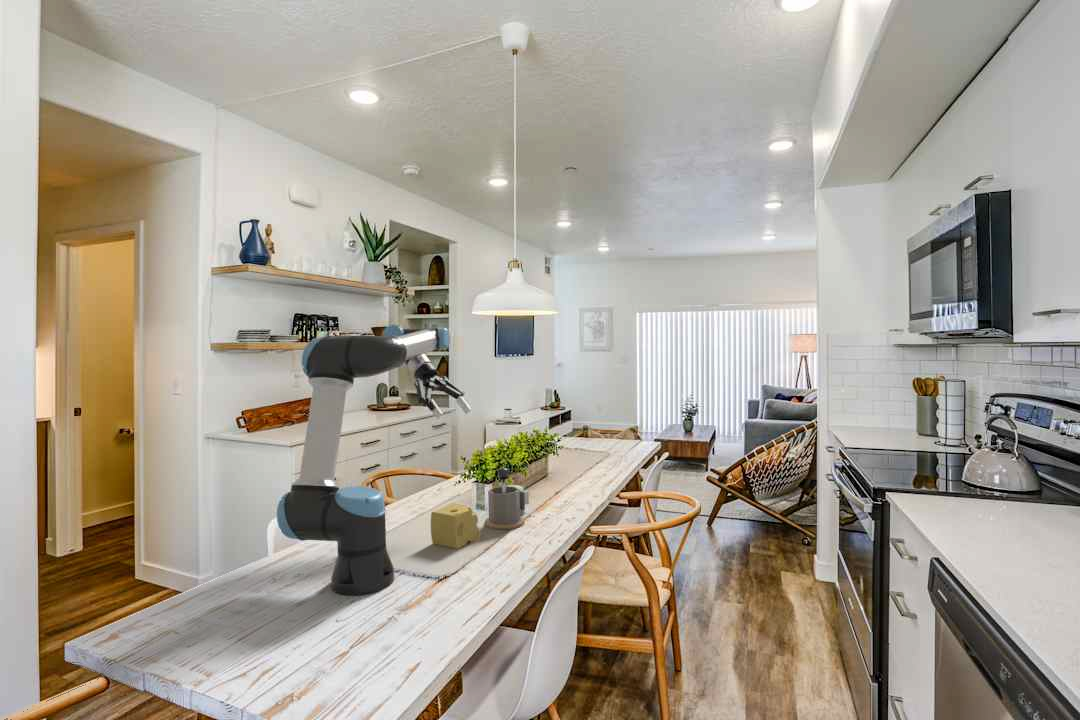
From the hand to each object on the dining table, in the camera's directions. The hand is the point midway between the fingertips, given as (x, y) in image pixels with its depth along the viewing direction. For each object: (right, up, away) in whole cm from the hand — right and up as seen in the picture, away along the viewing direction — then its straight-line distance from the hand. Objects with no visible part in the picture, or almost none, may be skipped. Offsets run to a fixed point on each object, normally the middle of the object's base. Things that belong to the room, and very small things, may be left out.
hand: (454, 414), depth 190 cm
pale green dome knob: (+21, -35, +5) cm, 41 cm away
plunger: (+17, -33, -6) cm, 38 cm away
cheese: (+3, -37, -22) cm, 43 cm away
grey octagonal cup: (+17, -35, -6) cm, 40 cm away
